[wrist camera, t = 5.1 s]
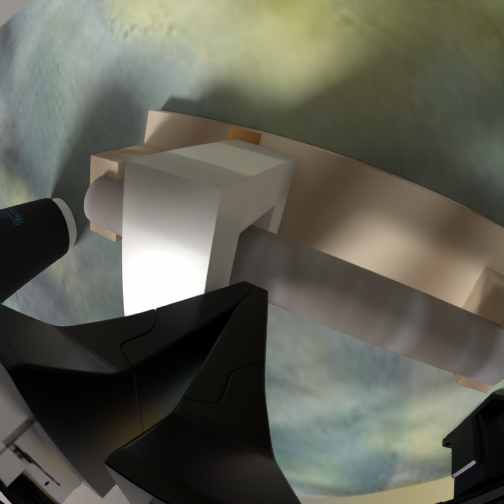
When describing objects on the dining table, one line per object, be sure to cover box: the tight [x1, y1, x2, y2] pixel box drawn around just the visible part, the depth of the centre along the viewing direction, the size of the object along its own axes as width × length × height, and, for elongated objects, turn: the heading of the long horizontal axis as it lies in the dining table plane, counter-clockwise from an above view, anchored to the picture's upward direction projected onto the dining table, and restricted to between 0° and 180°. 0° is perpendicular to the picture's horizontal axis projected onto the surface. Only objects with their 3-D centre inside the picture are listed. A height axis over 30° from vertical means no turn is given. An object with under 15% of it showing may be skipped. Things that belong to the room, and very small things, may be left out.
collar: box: [122, 139, 298, 316], centre depth 12 cm, size 3×7×7 cm, turn 167°
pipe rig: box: [84, 110, 504, 393], centre depth 13 cm, size 21×8×6 cm, turn 77°
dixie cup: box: [0, 198, 77, 304], centre depth 19 cm, size 8×8×11 cm
